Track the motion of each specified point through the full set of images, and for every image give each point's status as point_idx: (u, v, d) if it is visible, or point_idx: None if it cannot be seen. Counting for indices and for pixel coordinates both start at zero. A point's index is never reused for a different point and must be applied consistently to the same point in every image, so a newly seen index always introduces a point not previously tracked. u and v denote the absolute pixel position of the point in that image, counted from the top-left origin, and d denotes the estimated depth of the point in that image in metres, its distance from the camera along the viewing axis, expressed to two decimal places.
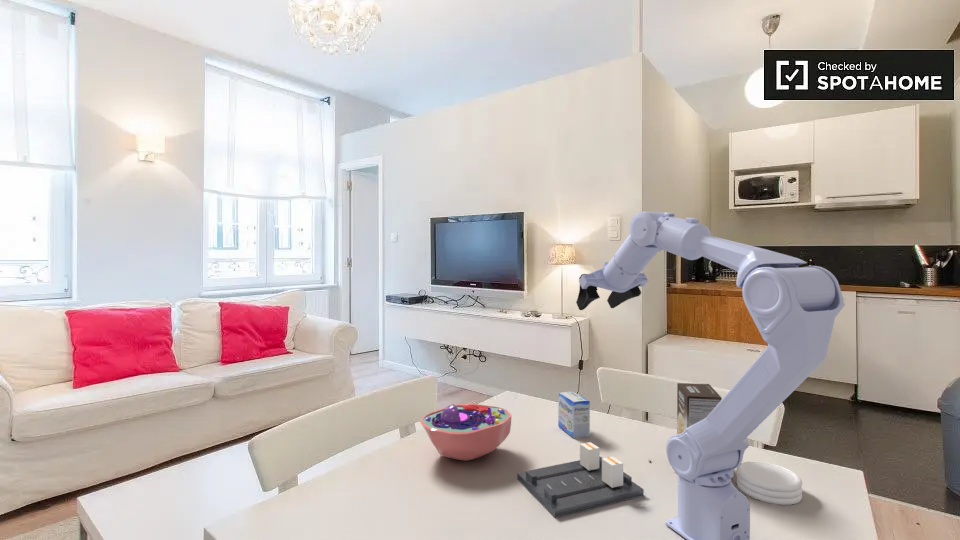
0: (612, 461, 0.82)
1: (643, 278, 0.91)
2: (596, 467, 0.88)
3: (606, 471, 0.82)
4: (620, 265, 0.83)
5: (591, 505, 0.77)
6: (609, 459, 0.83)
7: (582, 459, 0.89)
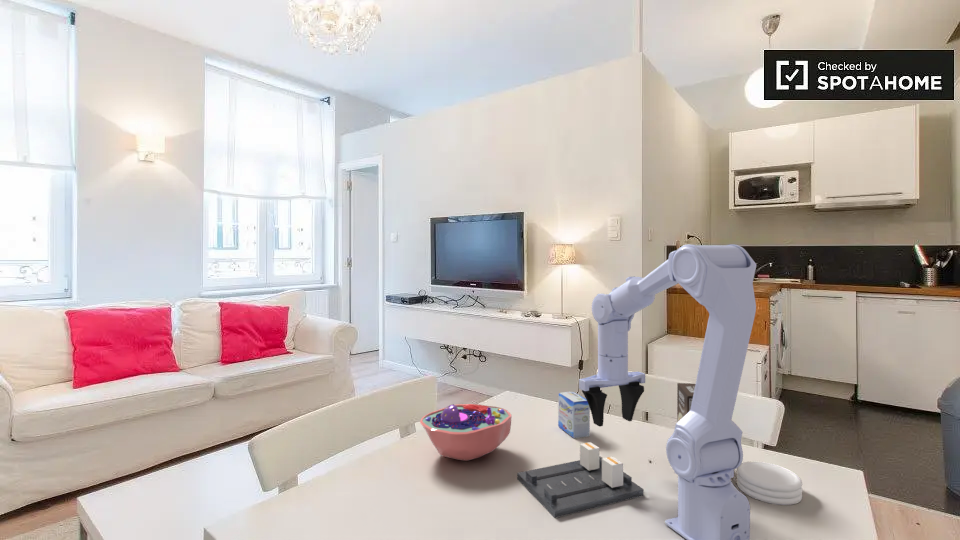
0: (612, 461, 0.82)
1: (640, 374, 0.93)
2: (596, 467, 0.88)
3: (606, 471, 0.82)
4: (604, 353, 0.88)
5: (591, 505, 0.77)
6: (609, 459, 0.83)
7: (582, 459, 0.89)
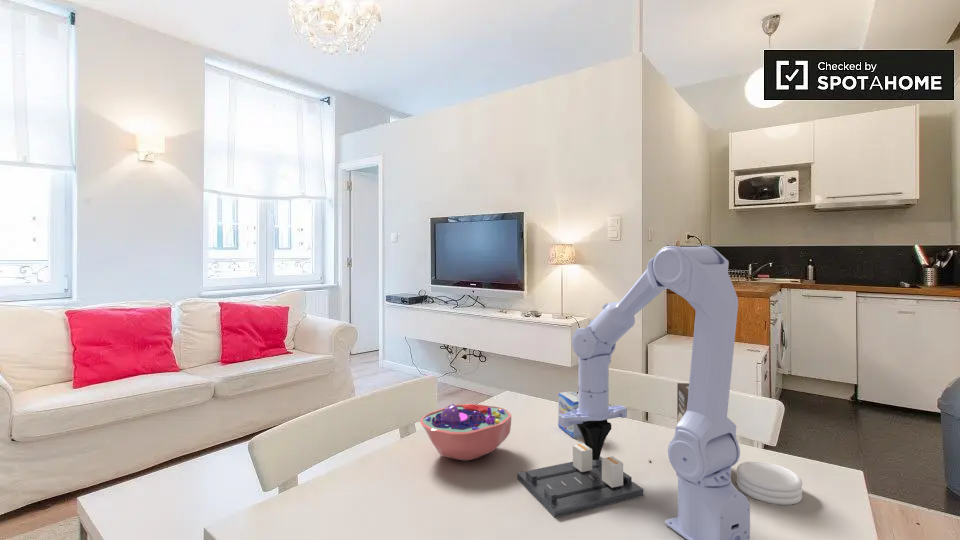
0: (612, 461, 0.82)
1: (621, 408, 0.91)
2: (589, 469, 0.87)
3: (606, 471, 0.82)
4: (587, 389, 0.87)
5: (591, 505, 0.77)
6: (609, 459, 0.83)
7: (575, 460, 0.89)
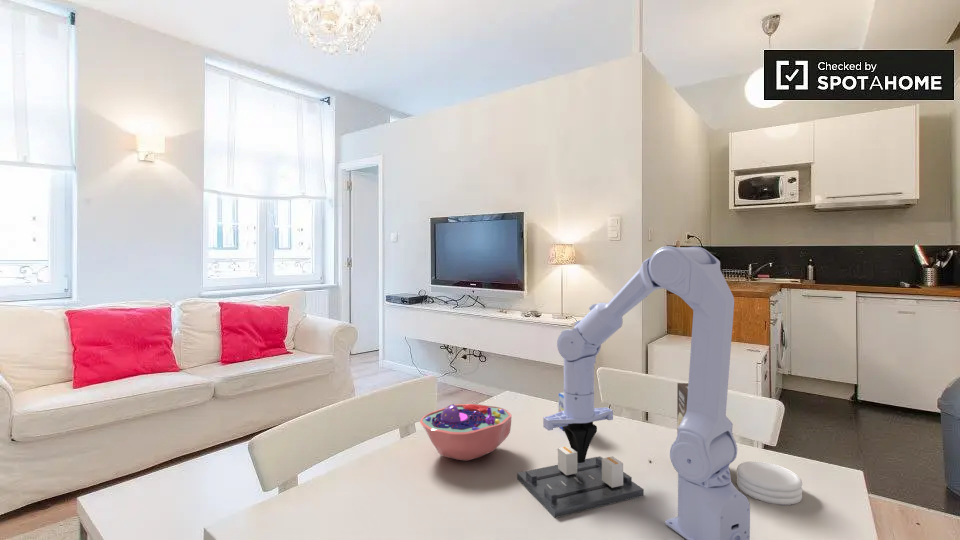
0: (612, 461, 0.82)
1: (607, 410, 0.90)
2: (574, 472, 0.86)
3: (606, 471, 0.82)
4: (574, 391, 0.85)
5: (591, 505, 0.77)
6: (609, 459, 0.83)
7: (560, 463, 0.87)
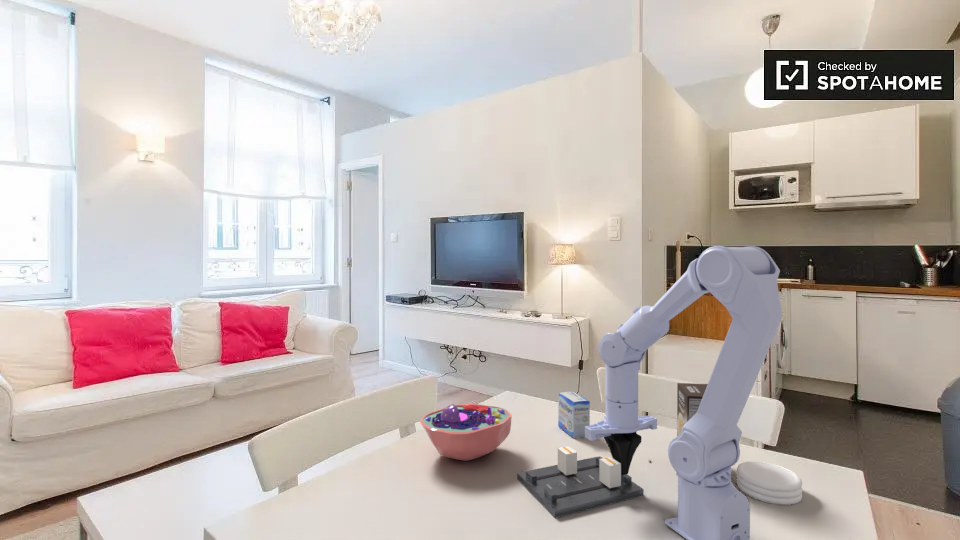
0: (610, 461, 0.82)
1: (651, 419, 0.85)
2: (574, 472, 0.86)
3: (603, 472, 0.82)
4: (616, 399, 0.81)
5: (591, 505, 0.77)
6: (607, 459, 0.83)
7: (559, 463, 0.87)
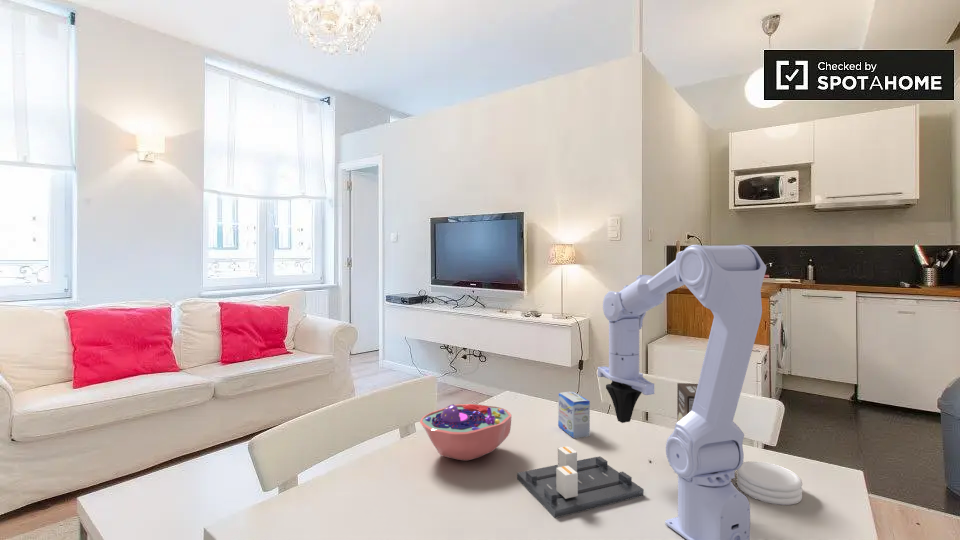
0: (566, 471, 0.79)
1: None
2: None
3: (560, 481, 0.79)
4: (615, 351, 0.88)
5: (591, 505, 0.77)
6: (564, 468, 0.79)
7: (559, 463, 0.87)
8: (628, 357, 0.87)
